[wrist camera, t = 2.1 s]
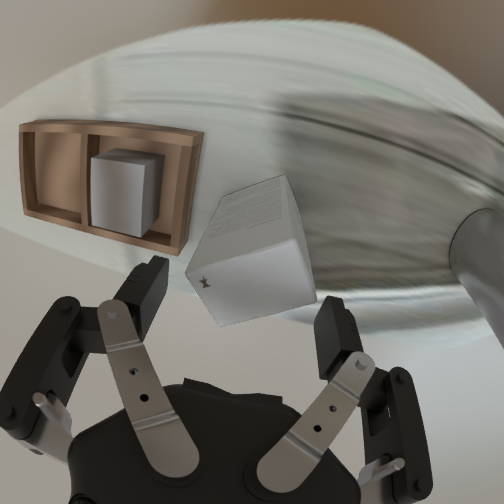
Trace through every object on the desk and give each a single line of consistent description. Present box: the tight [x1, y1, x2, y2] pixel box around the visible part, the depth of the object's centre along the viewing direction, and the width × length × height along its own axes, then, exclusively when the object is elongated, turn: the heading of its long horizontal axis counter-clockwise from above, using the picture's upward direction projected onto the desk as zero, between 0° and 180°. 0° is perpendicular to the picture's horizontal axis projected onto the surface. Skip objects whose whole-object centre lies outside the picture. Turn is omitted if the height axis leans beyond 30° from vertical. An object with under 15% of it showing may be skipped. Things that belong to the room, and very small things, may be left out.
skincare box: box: [185, 175, 317, 327], centre depth 19 cm, size 6×4×12 cm
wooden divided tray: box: [19, 120, 204, 256], centre depth 22 cm, size 20×11×5 cm, turn 77°
